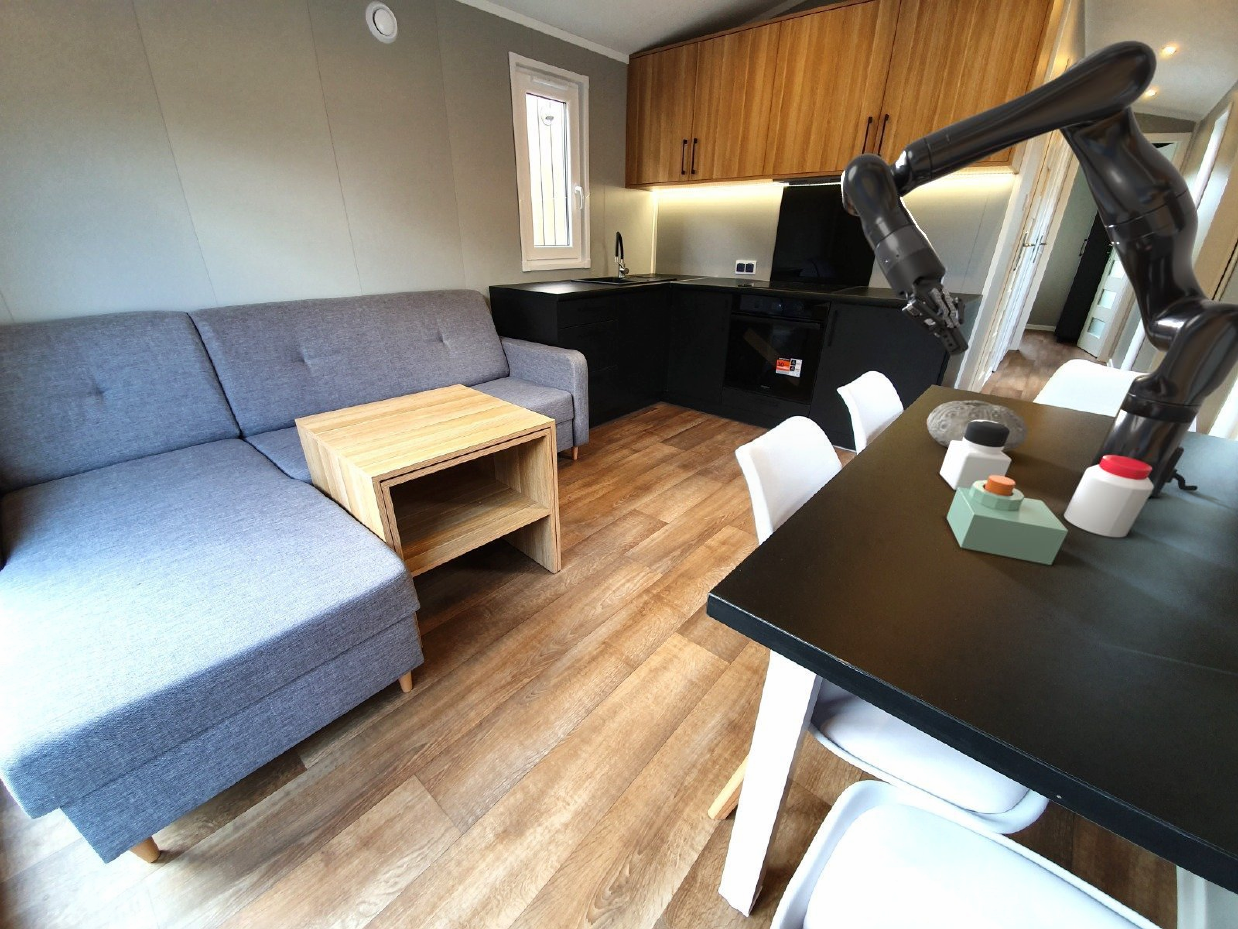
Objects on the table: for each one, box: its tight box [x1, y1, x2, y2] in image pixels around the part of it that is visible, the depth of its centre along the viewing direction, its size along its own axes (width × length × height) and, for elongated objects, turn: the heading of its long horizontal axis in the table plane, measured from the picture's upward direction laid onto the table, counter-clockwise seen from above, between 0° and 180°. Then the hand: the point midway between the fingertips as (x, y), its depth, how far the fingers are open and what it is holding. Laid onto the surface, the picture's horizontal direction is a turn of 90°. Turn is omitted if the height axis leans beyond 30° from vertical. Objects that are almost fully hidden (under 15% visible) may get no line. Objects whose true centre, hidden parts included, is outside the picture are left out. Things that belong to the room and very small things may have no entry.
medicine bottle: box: [939, 420, 1012, 491], centre depth 88 cm, size 7×7×12 cm
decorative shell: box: [926, 399, 1029, 454], centre depth 105 cm, size 18×18×10 cm
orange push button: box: [984, 475, 1016, 496], centre depth 72 cm, size 3×3×2 cm
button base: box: [946, 480, 1069, 566], centre depth 72 cm, size 11×9×8 cm
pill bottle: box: [1063, 455, 1154, 538], centre depth 76 cm, size 8×8×11 cm
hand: (960, 352), depth 76 cm, fingers closed
